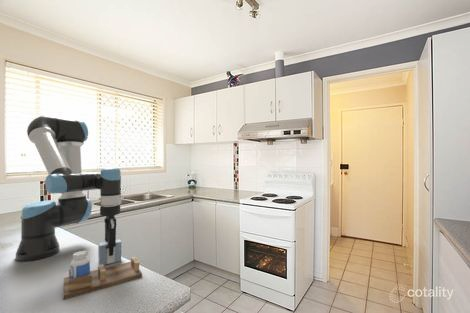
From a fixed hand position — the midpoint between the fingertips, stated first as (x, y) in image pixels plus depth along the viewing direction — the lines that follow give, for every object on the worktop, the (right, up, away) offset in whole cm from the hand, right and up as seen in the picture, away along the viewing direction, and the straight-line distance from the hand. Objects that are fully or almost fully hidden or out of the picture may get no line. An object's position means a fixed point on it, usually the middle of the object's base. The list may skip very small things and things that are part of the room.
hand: (109, 260), depth 97 cm
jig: (+5, 0, -14) cm, 15 cm away
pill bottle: (0, +1, -18) cm, 18 cm away
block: (0, 0, 0) cm, 0 cm away
